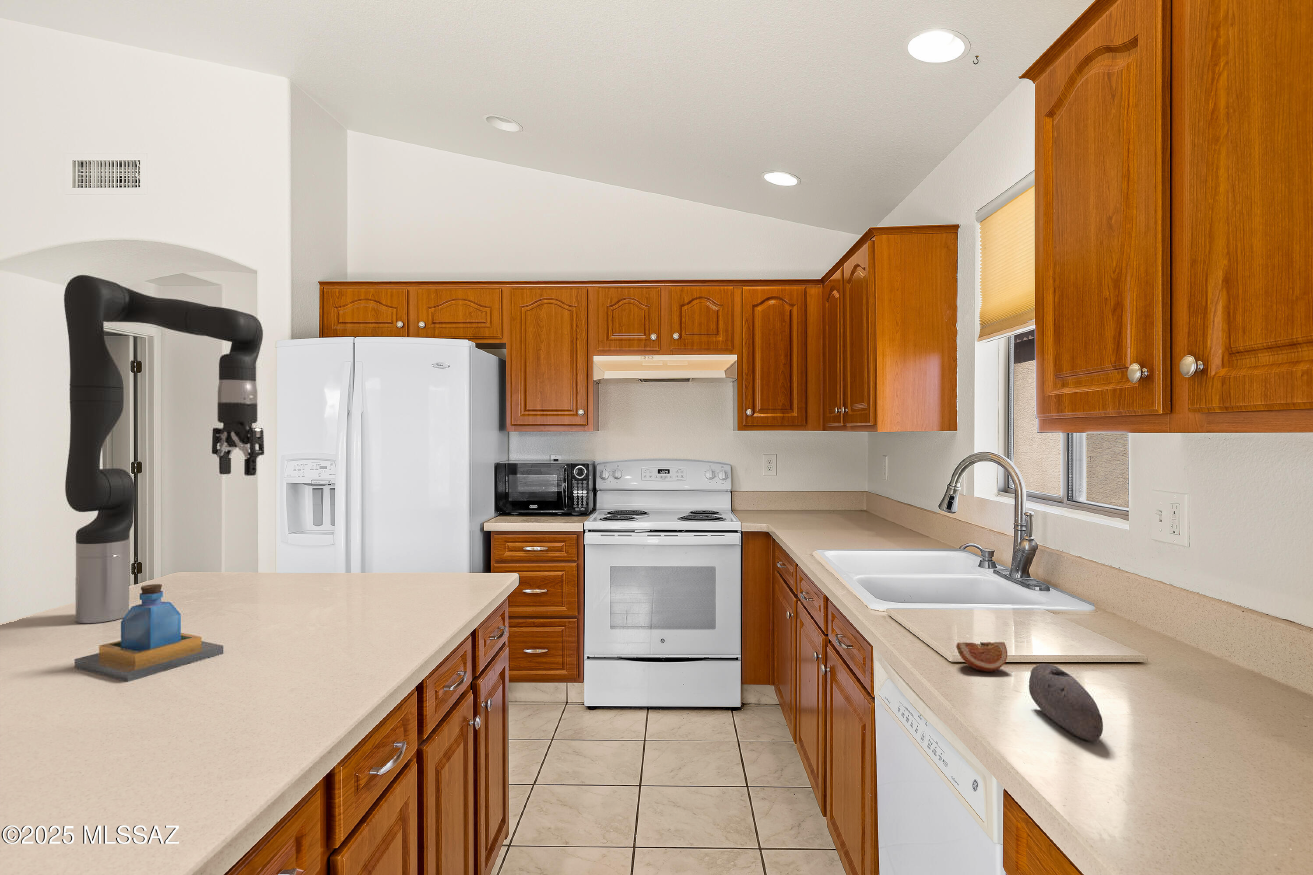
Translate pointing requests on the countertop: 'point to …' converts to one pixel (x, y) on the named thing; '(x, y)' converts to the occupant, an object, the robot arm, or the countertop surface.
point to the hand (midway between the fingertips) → (237, 474)
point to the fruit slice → (983, 655)
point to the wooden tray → (146, 658)
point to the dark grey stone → (1065, 701)
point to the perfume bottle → (150, 622)
